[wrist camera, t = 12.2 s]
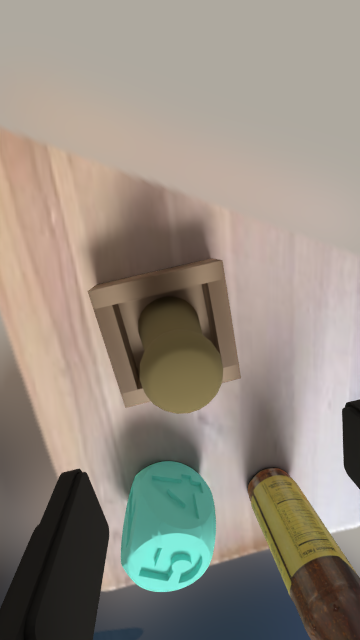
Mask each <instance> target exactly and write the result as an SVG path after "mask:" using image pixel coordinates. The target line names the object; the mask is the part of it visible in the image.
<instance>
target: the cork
mask: <svg viewBox="0 0 360 640" xmlns="http://www.w3.org/2000/svg"><path fill="white" fill-rule="evenodd" d="M138 332H139V336H140V339H141V342H142V345H143V348H144V354H143V357H142V359H141V362H140V382H141V385H142V387H143V390H144V392H145V394H146V396H147V397H148V398H149V399H150V401H151V402H152V403H153V404H154V405H156V406H158V407H159V408H161V409H163V410H165V411H168V412H172V413H176V414H180V413H190V412H193V411H197V410H199V409H201V408H202V407H204V406H205V405H207V404H209V402H210V401H211V400H212V399H213V398H214V397H215V395H216V394H217V393H218V391H219V388H220V386H221V384H222V380H223V364H222V360H221V356H220V354H219V352H218V351H217V349H216V348H215V346H214V345H213V344H212V342H211V341H210V340H208V339H207V338H206V337H204V336H203V334H202V330H201V326H200V322H199V318H198V314H197V312H196V311H195V309H194V308H193V306H192V305H191V304H189V303H188V302H187V301H185V300H183V299H181V298H178V297H162V298H158V299H155V300H154V301H152V302H151V303H150V304H148V305H147V306H146V307H145V309H144V310H143V311H142V313H141V315H140V318H139V321H138Z"/></svg>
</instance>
